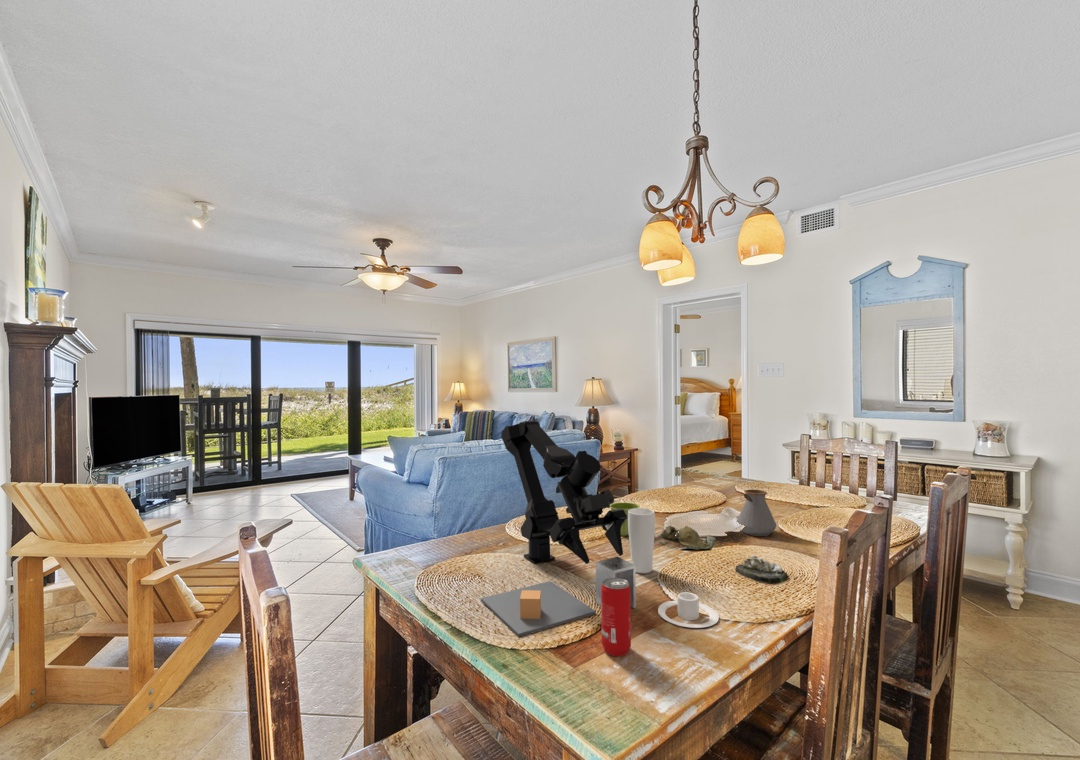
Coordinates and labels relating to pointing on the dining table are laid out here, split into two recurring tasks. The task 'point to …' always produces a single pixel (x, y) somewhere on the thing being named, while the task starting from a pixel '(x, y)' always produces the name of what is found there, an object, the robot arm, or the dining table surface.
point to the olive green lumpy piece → (686, 538)
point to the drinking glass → (641, 538)
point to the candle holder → (688, 610)
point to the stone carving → (761, 571)
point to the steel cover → (616, 575)
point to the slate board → (553, 608)
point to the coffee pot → (756, 514)
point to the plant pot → (626, 508)
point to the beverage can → (616, 616)
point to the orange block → (530, 604)
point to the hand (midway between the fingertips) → (605, 558)
